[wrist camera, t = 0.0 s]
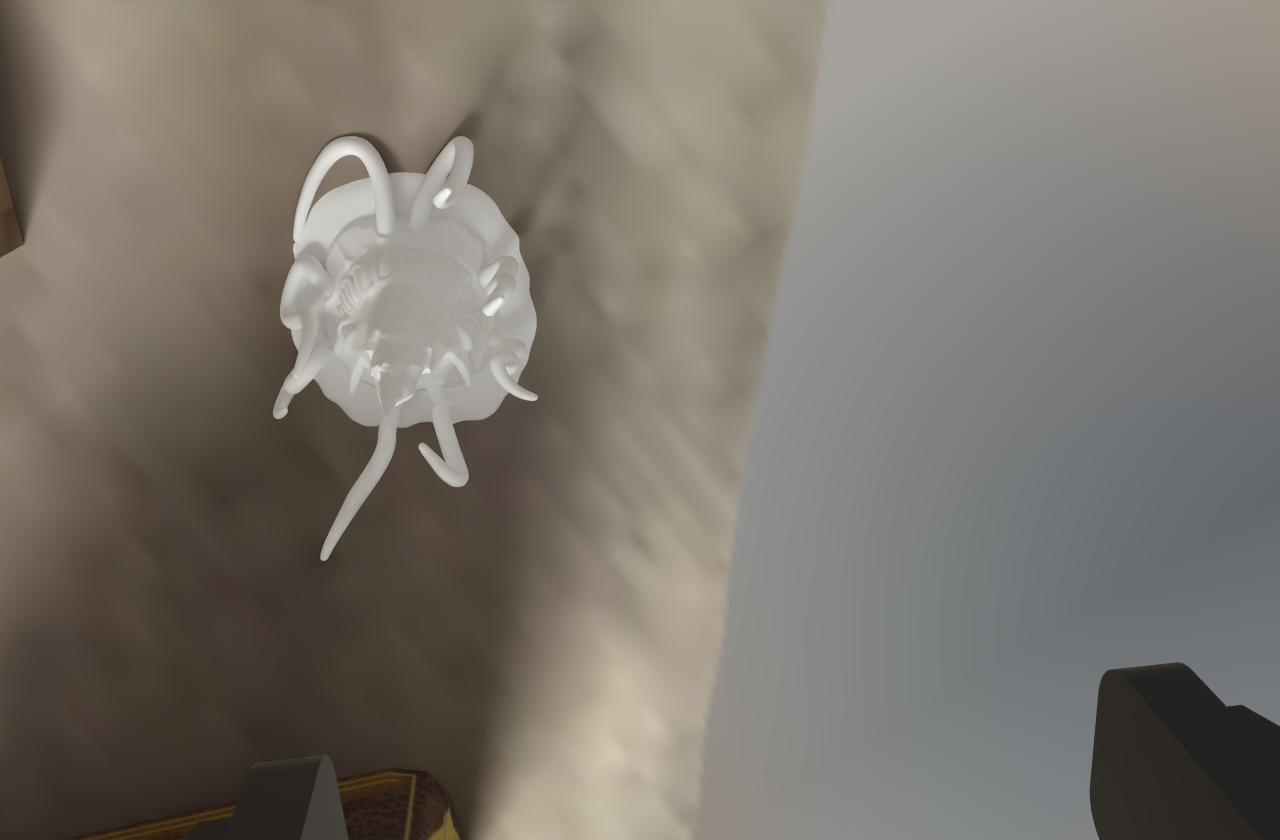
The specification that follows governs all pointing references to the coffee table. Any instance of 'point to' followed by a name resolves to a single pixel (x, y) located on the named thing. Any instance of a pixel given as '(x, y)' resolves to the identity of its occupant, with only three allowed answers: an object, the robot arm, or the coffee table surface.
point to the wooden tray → (7, 218)
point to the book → (372, 806)
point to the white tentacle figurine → (405, 305)
